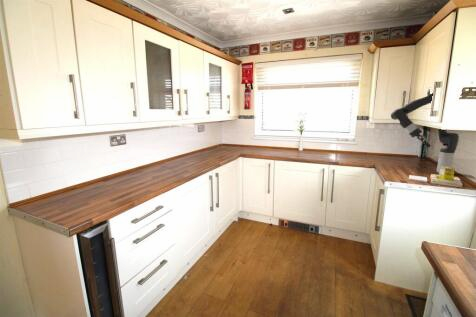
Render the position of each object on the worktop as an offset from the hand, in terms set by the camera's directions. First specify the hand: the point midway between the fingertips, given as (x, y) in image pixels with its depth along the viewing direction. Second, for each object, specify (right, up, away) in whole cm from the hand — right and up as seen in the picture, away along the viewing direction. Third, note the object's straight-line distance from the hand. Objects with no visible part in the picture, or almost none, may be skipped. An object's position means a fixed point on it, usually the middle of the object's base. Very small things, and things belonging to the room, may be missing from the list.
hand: (428, 146), depth 178 cm
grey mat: (-7, -25, +1) cm, 26 cm away
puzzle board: (+7, -26, -6) cm, 28 cm away
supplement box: (+7, -27, -6) cm, 28 cm away
